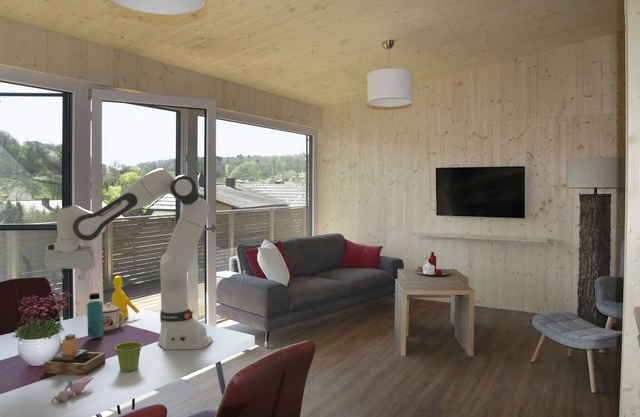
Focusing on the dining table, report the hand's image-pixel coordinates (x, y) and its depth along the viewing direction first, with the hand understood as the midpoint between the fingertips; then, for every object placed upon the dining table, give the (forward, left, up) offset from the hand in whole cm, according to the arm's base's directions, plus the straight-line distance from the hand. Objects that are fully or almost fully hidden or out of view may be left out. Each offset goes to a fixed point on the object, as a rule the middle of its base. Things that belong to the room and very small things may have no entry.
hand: (70, 279), depth 195 cm
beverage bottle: (-1, -14, -29) cm, 33 cm away
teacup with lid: (+1, -30, -29) cm, 42 cm away
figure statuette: (+5, -44, -29) cm, 53 cm away
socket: (-12, +18, -29) cm, 36 cm away
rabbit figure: (-28, +38, -30) cm, 56 cm away
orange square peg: (-12, +18, -28) cm, 35 cm away
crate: (-14, +18, -29) cm, 37 cm away
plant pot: (-34, +16, -29) cm, 48 cm away
